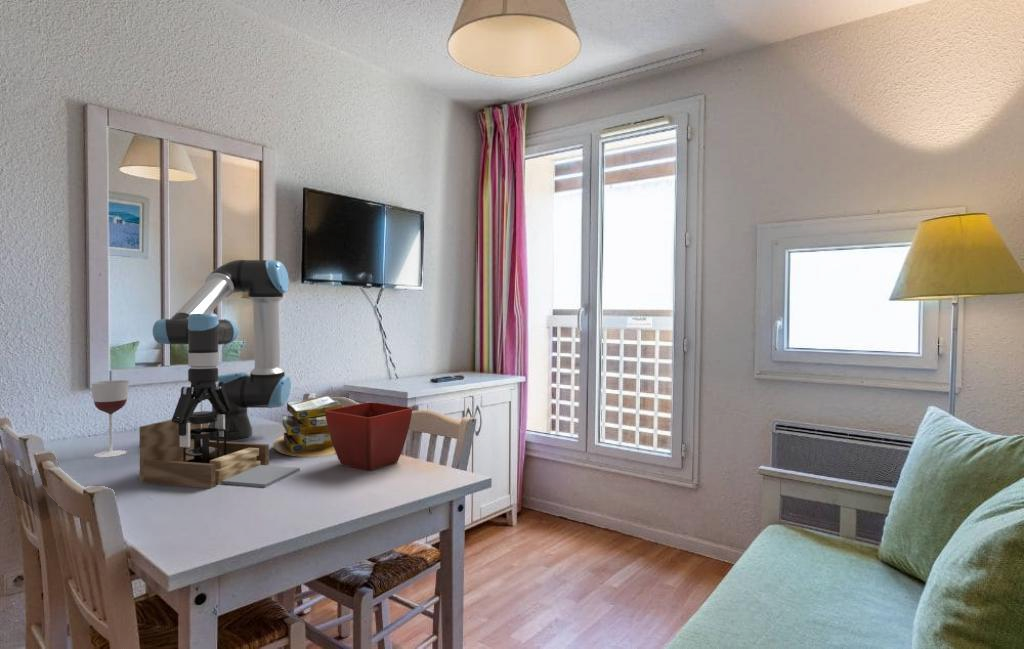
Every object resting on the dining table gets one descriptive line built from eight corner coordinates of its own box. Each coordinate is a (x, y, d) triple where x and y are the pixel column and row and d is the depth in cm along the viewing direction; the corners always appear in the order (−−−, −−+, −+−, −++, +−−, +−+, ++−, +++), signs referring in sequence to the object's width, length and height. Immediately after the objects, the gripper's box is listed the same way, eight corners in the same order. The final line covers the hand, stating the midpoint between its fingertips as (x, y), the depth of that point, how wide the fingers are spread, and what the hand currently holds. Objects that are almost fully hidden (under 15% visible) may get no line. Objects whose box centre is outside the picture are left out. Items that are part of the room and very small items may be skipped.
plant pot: (368, 476, 159) (368, 416, 158) (323, 465, 169) (323, 410, 168) (413, 461, 175) (414, 407, 174) (370, 452, 185) (370, 401, 185)
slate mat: (260, 467, 166) (260, 464, 166) (299, 470, 163) (299, 467, 163) (221, 483, 150) (221, 480, 150) (265, 487, 147) (265, 484, 147)
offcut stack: (247, 466, 168) (247, 446, 168) (261, 467, 167) (261, 447, 167) (203, 485, 150) (203, 462, 150) (218, 486, 149) (218, 463, 149)
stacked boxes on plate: (356, 452, 185) (356, 402, 184) (274, 460, 174) (274, 406, 174) (345, 437, 207) (345, 392, 207) (272, 443, 197) (272, 395, 196)
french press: (184, 480, 153) (184, 396, 152) (176, 472, 160) (175, 392, 159) (230, 472, 161) (230, 392, 160) (220, 465, 168) (220, 388, 167)
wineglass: (84, 455, 177) (84, 383, 176) (117, 448, 186) (117, 379, 186) (103, 458, 173) (103, 384, 173) (136, 451, 183) (135, 381, 182)
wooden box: (205, 459, 174) (205, 411, 174) (268, 464, 170) (268, 414, 169) (139, 482, 151) (139, 426, 150) (211, 488, 146) (211, 431, 146)
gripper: (222, 363, 173) (222, 431, 173) (156, 371, 148) (156, 450, 149) (244, 363, 171) (244, 433, 172) (180, 372, 147) (180, 452, 147)
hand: (203, 441), depth 160 cm, fingers open, 13 cm apart
